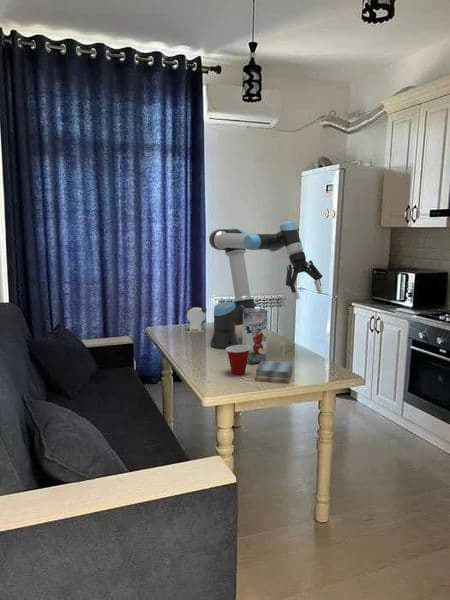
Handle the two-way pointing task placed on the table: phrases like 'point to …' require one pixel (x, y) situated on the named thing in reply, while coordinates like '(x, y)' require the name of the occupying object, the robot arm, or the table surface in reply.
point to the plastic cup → (238, 358)
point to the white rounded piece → (196, 317)
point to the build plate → (274, 372)
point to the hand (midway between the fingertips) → (309, 296)
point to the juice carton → (255, 334)
